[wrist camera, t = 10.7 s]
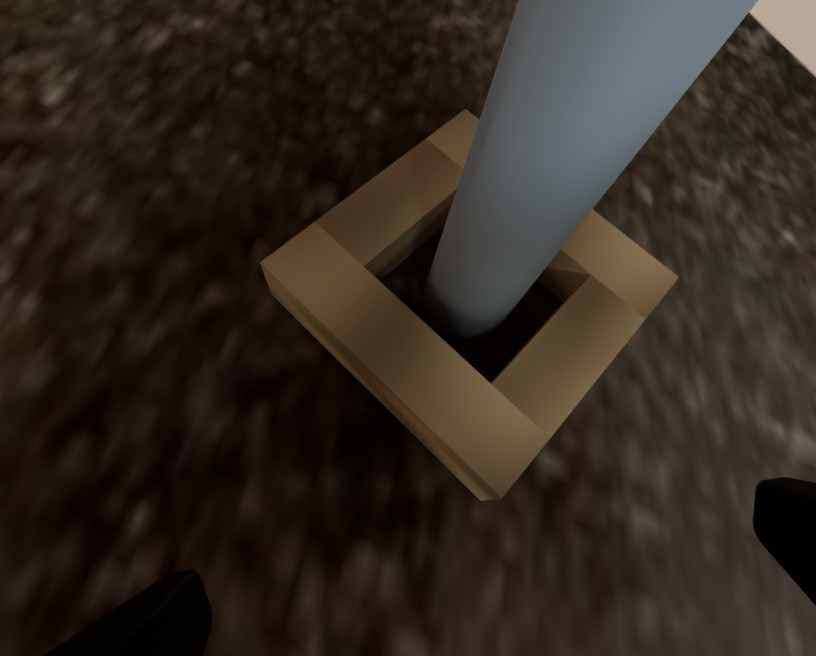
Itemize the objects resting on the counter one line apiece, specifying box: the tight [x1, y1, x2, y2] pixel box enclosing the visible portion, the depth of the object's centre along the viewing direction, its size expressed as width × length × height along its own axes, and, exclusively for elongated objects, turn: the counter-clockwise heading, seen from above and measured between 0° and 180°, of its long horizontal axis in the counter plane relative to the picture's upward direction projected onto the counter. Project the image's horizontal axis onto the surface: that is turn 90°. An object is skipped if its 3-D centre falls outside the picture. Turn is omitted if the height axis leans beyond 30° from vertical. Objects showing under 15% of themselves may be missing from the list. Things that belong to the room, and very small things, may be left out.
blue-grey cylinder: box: [423, 0, 758, 341], centre depth 12 cm, size 4×4×16 cm
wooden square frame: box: [260, 109, 679, 501], centre depth 18 cm, size 11×11×2 cm
